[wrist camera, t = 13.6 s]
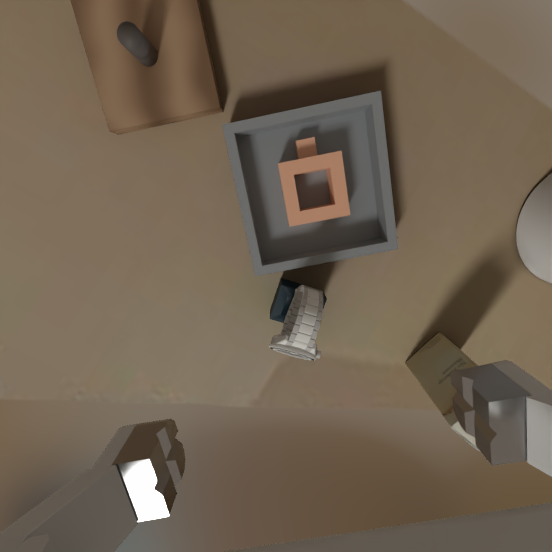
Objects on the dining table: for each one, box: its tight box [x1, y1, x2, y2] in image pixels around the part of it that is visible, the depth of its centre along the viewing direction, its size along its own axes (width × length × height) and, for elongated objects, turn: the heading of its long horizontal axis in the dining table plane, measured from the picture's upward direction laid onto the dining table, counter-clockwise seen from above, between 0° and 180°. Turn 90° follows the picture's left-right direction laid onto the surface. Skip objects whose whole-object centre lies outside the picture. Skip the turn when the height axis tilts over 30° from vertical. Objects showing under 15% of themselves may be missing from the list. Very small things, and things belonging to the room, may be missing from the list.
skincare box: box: [405, 332, 479, 450], centre depth 37 cm, size 6×4×12 cm
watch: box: [269, 278, 327, 360], centre depth 36 cm, size 6×8×11 cm
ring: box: [278, 137, 350, 227], centre depth 36 cm, size 7×9×3 cm
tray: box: [222, 91, 398, 276], centre depth 37 cm, size 16×16×4 cm
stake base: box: [71, 0, 223, 134], centre depth 32 cm, size 12×12×6 cm
